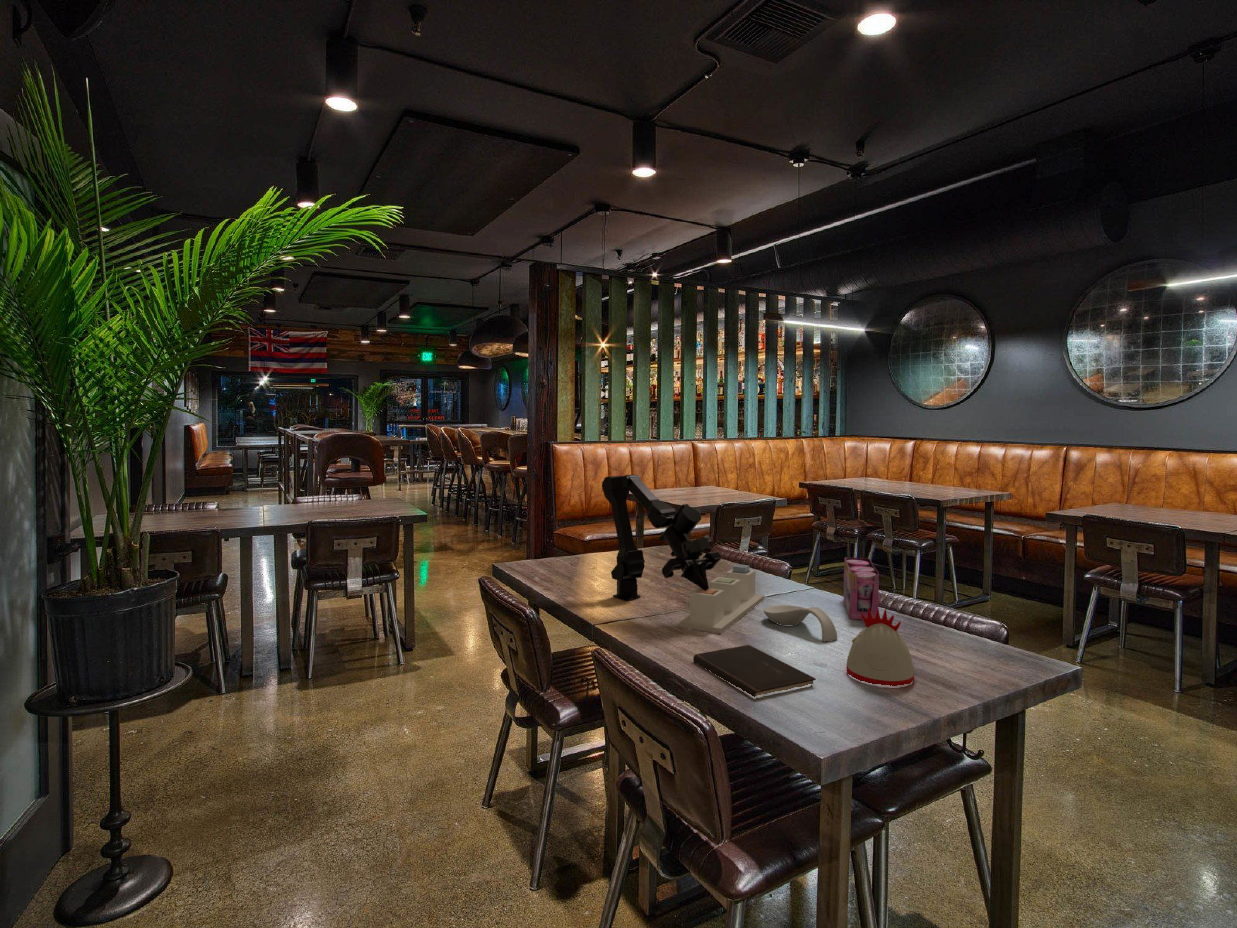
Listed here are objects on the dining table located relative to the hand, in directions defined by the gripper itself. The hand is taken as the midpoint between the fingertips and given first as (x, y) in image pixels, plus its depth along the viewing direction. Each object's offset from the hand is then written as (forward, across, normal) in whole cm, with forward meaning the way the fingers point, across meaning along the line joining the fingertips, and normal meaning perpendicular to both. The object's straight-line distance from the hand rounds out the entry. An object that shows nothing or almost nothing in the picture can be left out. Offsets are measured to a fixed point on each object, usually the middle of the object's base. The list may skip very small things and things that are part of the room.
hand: (707, 589), depth 176 cm
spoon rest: (+19, +19, -4) cm, 27 cm away
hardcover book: (+29, -16, -13) cm, 36 cm away
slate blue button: (-6, +26, +10) cm, 28 cm away
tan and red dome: (+42, +5, -26) cm, 50 cm away
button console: (+3, +13, +11) cm, 17 cm away
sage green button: (-1, +13, +7) cm, 15 cm away
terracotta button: (+3, 0, +3) cm, 4 cm away
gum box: (+19, +48, -4) cm, 52 cm away
